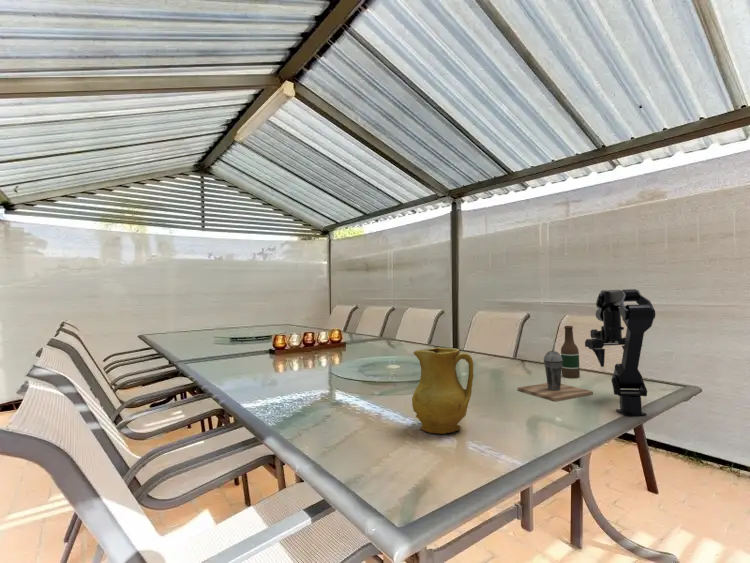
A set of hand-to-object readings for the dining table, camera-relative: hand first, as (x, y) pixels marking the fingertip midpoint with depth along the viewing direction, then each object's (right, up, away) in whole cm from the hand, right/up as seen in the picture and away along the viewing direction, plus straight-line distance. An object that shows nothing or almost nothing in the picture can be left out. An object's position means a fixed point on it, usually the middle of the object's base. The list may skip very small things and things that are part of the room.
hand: (614, 366), depth 154 cm
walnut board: (-15, -14, +16) cm, 26 cm away
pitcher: (-67, -15, -23) cm, 73 cm away
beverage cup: (-15, -13, +16) cm, 26 cm away
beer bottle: (+4, -14, +43) cm, 45 cm away
